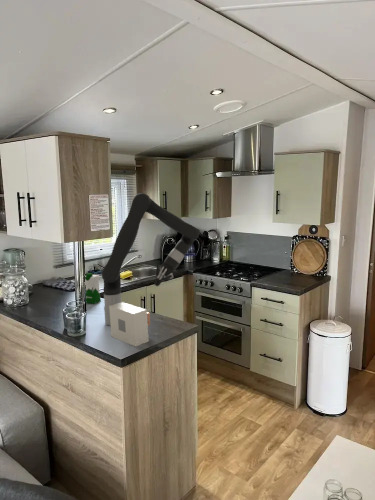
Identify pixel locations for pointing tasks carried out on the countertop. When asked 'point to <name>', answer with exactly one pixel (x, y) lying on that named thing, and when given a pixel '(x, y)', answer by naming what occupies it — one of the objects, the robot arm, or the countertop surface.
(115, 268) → the robot arm
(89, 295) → the milk carton
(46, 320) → the countertop surface
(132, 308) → the key box
